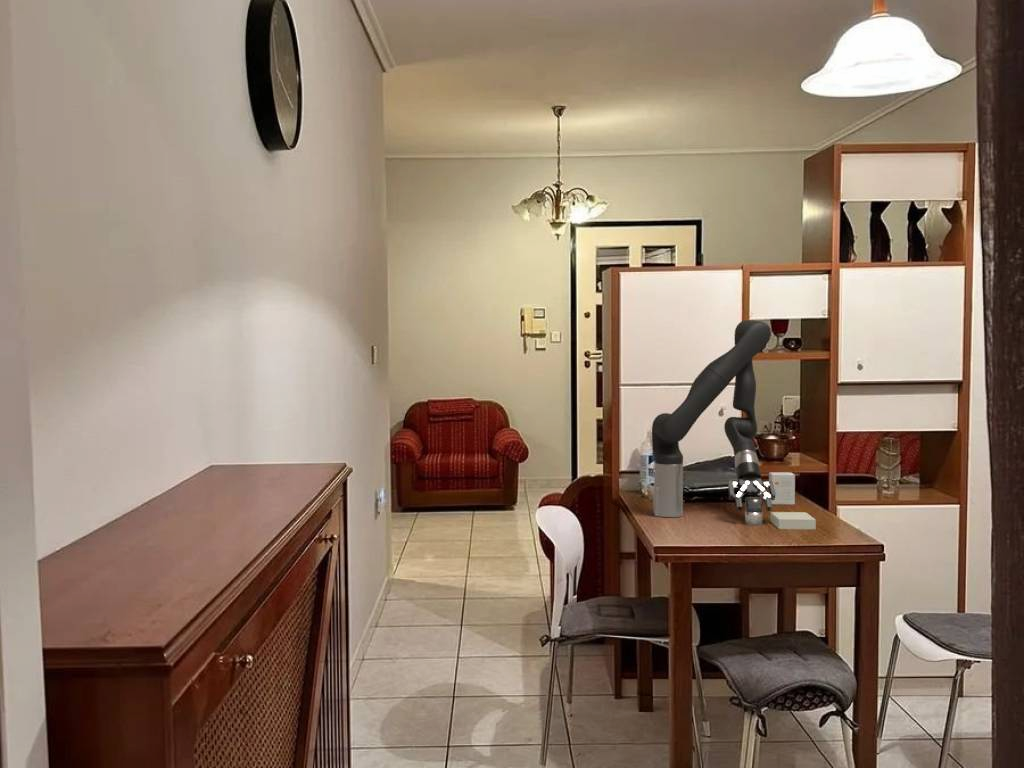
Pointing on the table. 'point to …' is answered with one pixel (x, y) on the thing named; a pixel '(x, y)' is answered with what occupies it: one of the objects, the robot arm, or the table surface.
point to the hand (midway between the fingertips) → (754, 509)
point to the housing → (753, 511)
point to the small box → (783, 487)
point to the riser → (793, 520)
